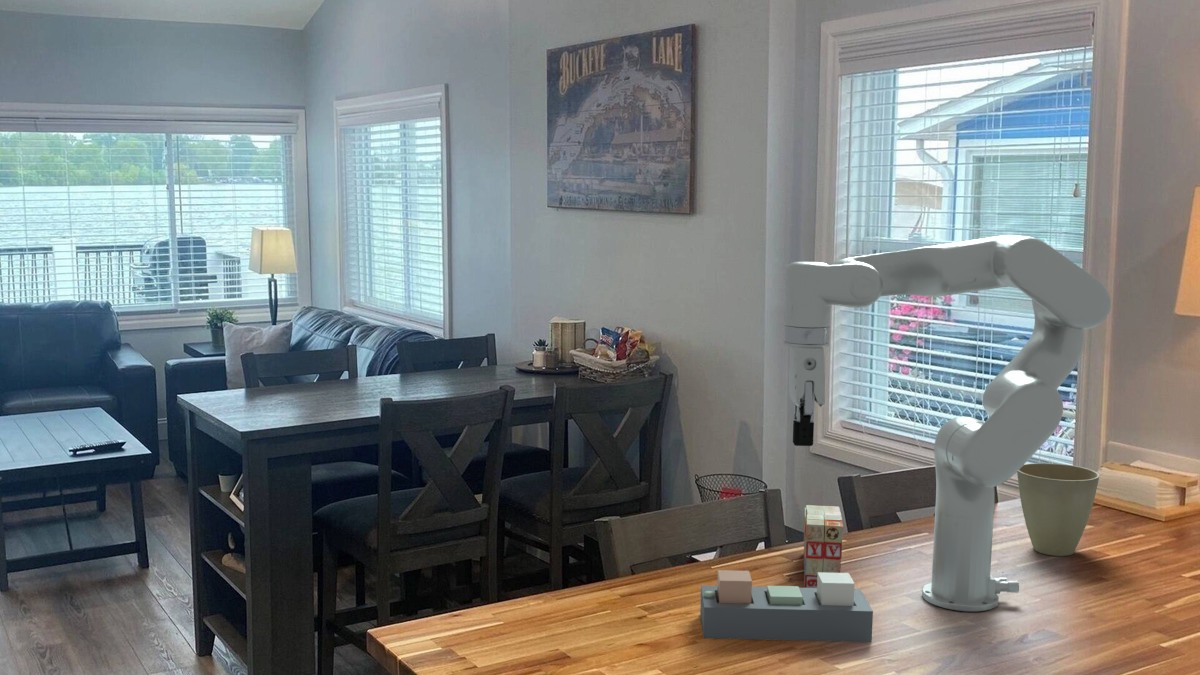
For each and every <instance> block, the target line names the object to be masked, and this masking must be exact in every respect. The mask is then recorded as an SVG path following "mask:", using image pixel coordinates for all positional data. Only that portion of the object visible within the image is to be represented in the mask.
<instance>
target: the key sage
mask: <svg viewBox="0 0 1200 675" xmlns="http://www.w3.org/2000/svg"><path fill="white" fill-rule="evenodd" d="M766 587H767V602H768V604H787V605H802V602H803V597H802V594H801V592H800V589H799V588H800V587H799V586H798V585H797V586H796V585H795V586H794V585H767V586H766Z"/></svg>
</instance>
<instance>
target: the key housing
mask: <svg viewBox="0 0 1200 675" xmlns="http://www.w3.org/2000/svg"><path fill="white" fill-rule="evenodd" d="M799 589H800V592H801V594H802V597H803V602H802V605H787V604H768V602H767V586H752V597H751V604H743V603H718V602H717V585H700V607H699V608H700V622H701V630H702V636H703V639H715V640H716V639H719V640H722V639H723V640H757V641H758V640H762V641H763V640H766V641H799V642H800V641H802V642H808V641H809V642H842V643H843V642H844V643H846V642H848V643H849V642H850V643H851V642H852V643H872V642H873V640H872V639H873V624H874V623H873V617H874V611H873V609H872V606H871V605H870V604H869V601H868V599H867V598H866V596H865V595H864V593H863V591H862V589H861V588H854V606H831V605H819V603H818V601H817V588H804V587H799Z"/></svg>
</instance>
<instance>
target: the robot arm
mask: <svg viewBox="0 0 1200 675" xmlns="http://www.w3.org/2000/svg"><path fill="white" fill-rule="evenodd" d="M784 280H785V281H784V282H785V285H784V286H785V287H784V318H783V342H782V343H783V346H787V347H789V363H788V364H789V366H788V394H789V399H790V400H791V401H792V403H793V404H794V406H793V407H794V408H793V409H794V412H793V414H794V415H793V416H794V417H793V418H794V420H793V423H792V424H793V425H792V443H793V445H794V446H795V447H796V446H797V447H812V446H813V445H814V435H815V434H814V433H815V432H814V430H815V422H814V416H815V404H816V403H817V404H818V406H819V407H820V408H822V407H824V406H825V405H826V360H825V348H827V347H830V335H831V334H830V332H831V330H830V329H831V311H832V309H831V306H839V307H846V308H853V309H862V308H867V307H869V306H872V305H873V304H874V303H876V302H877V301H878V300H879V299H880V297H889V296H902V295H903V296H906V295H907V296H908V295H909V296H910V295H911V296H916V297H917V296H920V297H927V298H929V297H933V298H934V297H946V296H947V297H948V296H953V295H960V294H964V293H966V294H967V293H972V292H973V293H974V292H977V291H978V292H979V291H987V290H994V289H1000V288H1008V287H1009V288H1015V289H1018V290H1020V291H1021V292H1022V293H1023V294H1025V295H1026V296H1027V297H1029V298H1030V299H1031V304H1032V309H1033V314H1034V326H1033V331H1032V332H1031V335H1030V337H1029V339H1028V340H1027V342H1026V343H1025V345H1024V346H1022V348H1021V350H1019V351H1018V353H1017V354H1016V355H1015V356H1014V357H1013V358H1012V359H1011V360H1010V361H1009V362H1008V363H1007V364H1006V366H1004V368H1003V369H1001V371H1000V372H999V373H998V374H997V375H996V376H995V377H994V378H993V379H992V381H991V382H989V384H988V386H987V387H986V388H985V389H984V391H983V395H982V406H983V409H984V411H985V413H986V415H988V416H989V417H988V418H987V419H986V420H985V422H984V421H982V420H980V419H977V418H975V417H972V416H957V417H953V418H951V419H949V420H947V421H946V422H945V423H944V424H943V425H942V426H941V427H940V429H939V430H938V432H937V434H936V437H935V439H934V440H935V441H934V449H933V450H934V452H933V453H934V467H935V479H936V480H935V482H936V483H935V484H936V487H935V488H936V490H935V507H934V508H935V509H934V529H933V531H934V532H933V546H932V547H933V548H932V567H931V568H932V569H931V570H932V571H931V582H929V583H926V584H924V585H923V587H922V588H921V597H922V598H923V599H924V600H925V601H926V602H928V603H929V604H931V605H934V606H937V607H939V608H943V609H946V610H953V611H959V612H960V611H961V612H985V611H989V610H992V609H994V608H996V607H997V606H998V605H999V599H1000V598H999V595H1000V593H1001V592H1003V593H1005V592H1006V593H1016V594H1017V593H1019V591H1020V584H1019V582H1018V580H1007V577H994V575H992V573H991V570H992V555H993V554H992V551H993V533H994V532H993V530H994V515H995V503H996V502H995V496H996V495H995V487H997V486H1000V485H1003V484H1004V483H1005V482H1007V481H1008V480H1010V479H1011V478H1012V477H1013V476H1014V475H1016V474H1017V471H1018V470H1019V469H1020V468H1021V467H1022V466H1023V465H1024V464H1027V462H1028V461H1029V460H1030V459H1031V458H1032V457H1033V456H1034V454H1036V453H1037V452H1038V450H1039V449H1040V448H1041V447H1042V446H1043V445H1044V444H1045V443H1046V442H1047V441H1048V440H1049V439H1050V438H1051V436H1052V435H1053V434H1054V433H1055V432H1056V430H1057V429H1058V427H1059V425H1060V422H1061V421H1062V418H1063V412H1064V402H1063V398H1062V395H1061V394H1060V392H1059V391H1058V389H1059V387H1060V386H1061V385H1062V384H1063V383H1064V382H1065V380H1066V379H1067V378H1068V377H1069V375H1071V373H1072V372H1073V370H1075V368H1076V366H1077V364H1078V362H1079V361H1080V359H1081V356H1082V352H1083V349H1084V342H1085V340H1084V339H1085V330H1090V329H1094V328H1096V327H1099V326H1100V325H1101V324H1102V323H1103V322H1104V321H1105V320H1106V319H1107V318H1108V315H1109V314H1110V311H1111V307H1112V301H1111V296H1110V293H1109V291H1108V288H1106V286H1105V285H1104V284H1103V283H1102V282H1101V281H1100V280H1099V279H1097V278H1096V277H1095V276H1093V275H1092V274H1091V273H1089V272H1087V271H1086V270H1084V269H1083V268H1082V267H1080V266H1079V265H1077V264H1076V263H1074V262H1073V261H1072V260H1070V259H1069V258H1067V257H1066V256H1065V255H1063V254H1062V253H1060V252H1059V251H1057V249H1054V248H1053V247H1052V246H1050V245H1049V244H1048V243H1046V242H1045V241H1043V240H1041V239H1039V238H1036V237H1033V236H1025V235H1016V234H1015V235H1013V234H1006V235H997V236H990V237H985V238H978V239H977V238H976V239H971V240H965V241H964V240H963V241H959V242H951V243H944V244H936V245H930V246H922V247H916V248H911V249H904V250H898V251H897V250H896V251H889V252H881V253H880V252H879V253H871V254H868V255H859V256H854V257H846V258H842V259H839V260H836V261H834V262H833V263H832V264H828V263H826V262H822V261H821V262H820V261H793V262H791V263H789V264H788V265H787V266H786V269H785V278H784Z"/></svg>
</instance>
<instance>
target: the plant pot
mask: <svg viewBox="0 0 1200 675" xmlns="http://www.w3.org/2000/svg"><path fill="white" fill-rule="evenodd" d="M1016 474H1017V475H1016V476H1017V483H1018V491H1019V499H1020V504H1021V508H1022V509H1021V510H1022V514H1023V517H1024V522H1025V525H1026V529H1027V532H1028V536H1029V539H1030V543H1031V546H1032V548H1033V550H1035V551H1036V552H1037V553H1040V554H1043V555H1047V556H1054V557H1055V556H1056V557H1066V556H1072V555H1073V554H1074V553H1075V552H1076V550H1077V547H1078V546H1079V543H1080V541H1081V539H1082V536H1083V534H1084V531H1085V528H1086V526H1087V523H1088V521H1089V519H1090V518H1089V517H1090V515H1091V513H1092V508H1093V506H1094V502H1095V497H1096V493H1097V489H1098V485H1099V480H1100V475H1101V474H1099V472H1097V471H1095V470H1093V469H1091V468H1087V467H1082V466H1077V465H1072V464H1064V463H1053V462H1052V463H1051V462H1035V463H1034V462H1033V463H1025V464H1024V465H1023V466H1022V467H1021V468H1020V469H1019V470H1018V471H1017V472H1016Z"/></svg>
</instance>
